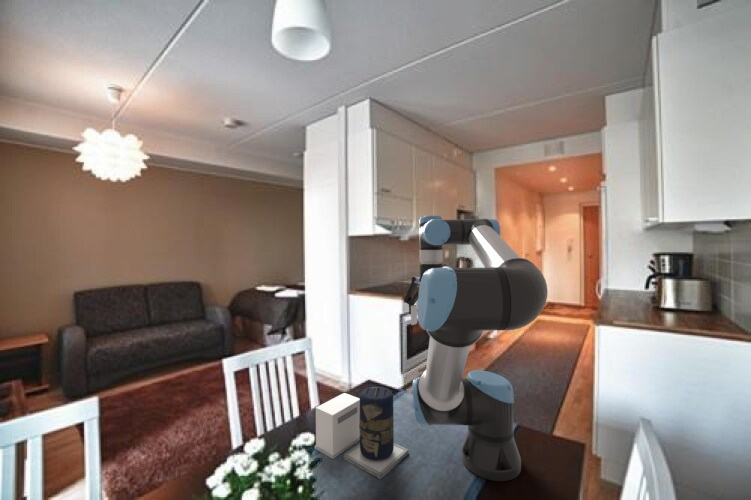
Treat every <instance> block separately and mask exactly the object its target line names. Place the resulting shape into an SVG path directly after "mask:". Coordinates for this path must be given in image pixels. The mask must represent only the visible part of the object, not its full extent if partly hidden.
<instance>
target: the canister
mask: <svg viewBox="0 0 751 500" xmlns="http://www.w3.org/2000/svg"><path fill="white" fill-rule="evenodd" d="M359 398H360V424H359V428H360V440H359V443H360V451H361V453H362V455H363V456H364V457H366V458H367V459H370V460H383V459H386V458H388V457H389V456H390V455H391V454H392V452H393V449H394V443H395V441H394V438H395V437H394V434H395V433H394V432H395V431H394V424H395V423H394V394H393V392H392V391H391V390H390V389H388V388H386V387H384V386H383V387H382V386H371V387H370V386H369V387H366V388H364V389H363V390H362V391H360V394H359Z"/></svg>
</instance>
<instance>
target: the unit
mask: <svg viewBox="0 0 751 500" xmlns="http://www.w3.org/2000/svg"><path fill="white" fill-rule="evenodd" d="M359 424H360V397H357V396H354V395H351V394H349V393H345V392H344V393H341V394H339V395H337V396H335V397H334V398H331V399H329V400H328V401H326V402H324V403H322V404H320V405H318V406H316V407H315V445H314V450H316V451H318V452H320V453H322V454H323V455H325V456H327V457H329V458H330V459H333V460H334V459H335V458H336V457H338V456H339V455H341V454H342V453H344V452H345V451H347V450H348V449H349V448H351V447H352V446H354V445H355V444H357V443H358V442H360V428H359Z"/></svg>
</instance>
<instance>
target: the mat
mask: <svg viewBox="0 0 751 500" xmlns="http://www.w3.org/2000/svg"><path fill="white" fill-rule="evenodd" d="M409 452H410V451H409V448H406V447H403V446H401V445H399V444H397V443H395V442H394V449H393V452H392V454H391V455H390V456H389V457H388V458H386V459H383V460H370V459H367V458H366V457H364V456H363V455H362V453H361V451H360V442H359V443H358V444H356V445H355V446H354V447H352V448H350V449H349V450H348V451H346V452H345V453H344V454H343V455H342V457H343V460H344V461H346V462H349V464H352V465H354V466H356V467H357V468H359V469H361V470H363V471H365V472H366V473H368V474H369V475H372V476H374V477H375V478H377V479H379V480H382V479H383V478H384V477H385V476H386V475H387V474H389V472H390V471H391V470H393V469H394V468H395V467H396V466H397V465H398V463H400V462H401V461H402V460H403V459H404V458H405V457H406V456H407V455H408V454H409Z"/></svg>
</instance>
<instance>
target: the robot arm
mask: <svg viewBox="0 0 751 500" xmlns="http://www.w3.org/2000/svg"><path fill="white" fill-rule="evenodd" d="M418 229H419V234H418V235H419V263H420V264H419V276H420V277H418V276H417V275H416V276H412V277H411V283H410V285H409V287H408V290H407V292H406V295H405V297H404V300H403V303H404V304H407V305H408V313H409V315H410V325H411V326H414V325H417V324H418V325H419V327H420V328H421V329H422V330H425V331H426V332H427V334H428V336H429V341H428V348H427V349H428V351H427V359H426V367H425V368H426V369H425V371H424V372H423V373H422V374H421V376H418V377H414V378H413V379H412V399H413V408H414V417H415V420H416V422H417V423H418V424H420V425H426V426H429V427H430V426H433V425H434V426H435V425H436V426H467V431H466V434H465V437H464V439H463V440H464V441H463V443H462V445H461V461H462V463H463V464H464V466H465V467H466V468H467V470H469V471H470V473H472V474H475V475H476V476H477V477H480V478H483V479H484V480H485V479H486V480H489V481H493V482H505V481H511V480H513V479H516V478H517V477H518V476H519V475H520V473H521V472H522V459H521V456H520V452H519V450H518V446H517V443H516V441H515V438H514V437H515V436H514V430H515V429H514V418H515V417H514V415H515V414H514V411H515V410H514V405H515V398H514V397H515V396H514V389H513V385H512V383H511V382H510V381H509V380H508V379H507V378H505V377H503V376H501V375H499V374H497V373H494V372H491V371H486V370H479V369H478V370H477V369H474V370H472V371H469V372H468V373H467V374H466V378H464V377H463V375H464V371H465V368H466V363H467V360H468V356H469V351H470V349H471V346H473V345H474V344H476V343H477V342H478V341H479V339H480V338H481V336H482V335H483V331H514V330H519V329H522V328H524V327H526V326H528V325H529V324H531V323H532V322H533V321H535V320H536V319H537V318H538V316H539V315H540V314H541V313H542V311H543V310H544V308H545V306H546V303H547V300H548V285H547V280H546V279H545V276H544V274H543V272H542V271H541V270H540V269H539V268H538V267H537V266H536V265H535V264H534V263H533V262H532V261H530V260H529V259H526V258H522V257H520V255H519V254H518V253H517V252H516V251H515V250H514V249H513V248H512V247H511V246H510V245H509V244H508V243H507V242H506V241H505V240H504V239H503V238H502V236H501V226H500V224H499V221H498V220H497V219H492V218H474V219H473V218H471V219H468V218H467V219H466V218H465V219H463V218H462V219H459V218H458V219H443V217H442V216H440V215H422V216H420V218H419V224H418ZM448 245H449V246H450V245H451V246H453V245H455V246H456V245H461V246H462V245H464V246H465V245H468V246H469V245H470V246H471V247H472V249H473V251H474V252H475V254H476V255H477V258H478V259H479V260H480V262H481V264H482V265H483V267H452V266H444V264H443V257H444V256H443V255H444V253H443V250H444V249H443V246H448ZM418 284H419V287H418ZM417 287H418V289H417ZM416 289H417V290H416ZM415 291H416V292H415Z"/></svg>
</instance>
